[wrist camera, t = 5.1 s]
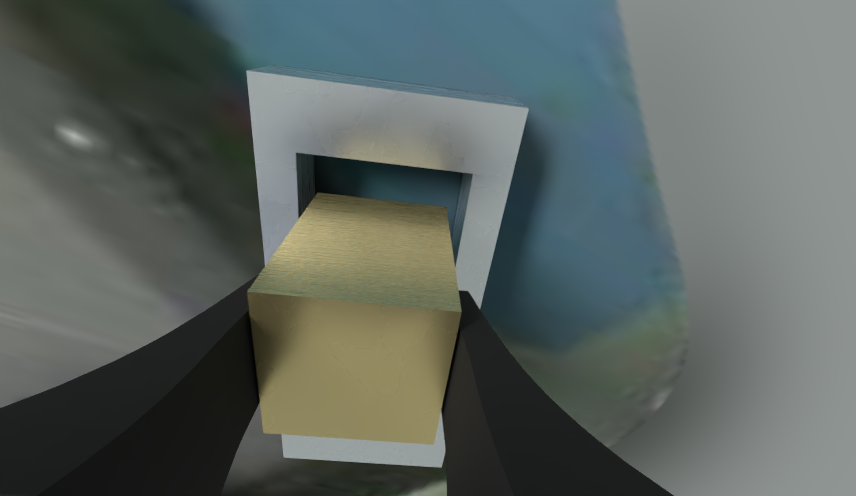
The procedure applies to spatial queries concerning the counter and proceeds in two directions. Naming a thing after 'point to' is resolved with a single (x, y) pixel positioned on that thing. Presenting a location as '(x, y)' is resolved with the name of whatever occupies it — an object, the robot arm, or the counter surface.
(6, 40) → the counter surface
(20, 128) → the counter surface
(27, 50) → the counter surface
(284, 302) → the wooden block
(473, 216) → the white block holder tray
